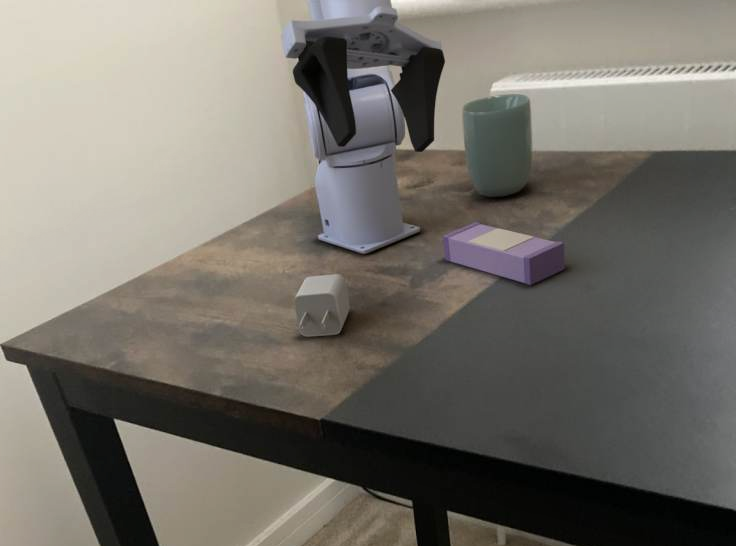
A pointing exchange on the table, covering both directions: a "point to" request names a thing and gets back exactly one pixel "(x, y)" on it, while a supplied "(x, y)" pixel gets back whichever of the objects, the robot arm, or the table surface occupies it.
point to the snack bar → (504, 253)
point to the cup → (498, 143)
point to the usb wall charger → (322, 305)
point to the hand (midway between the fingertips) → (386, 143)
